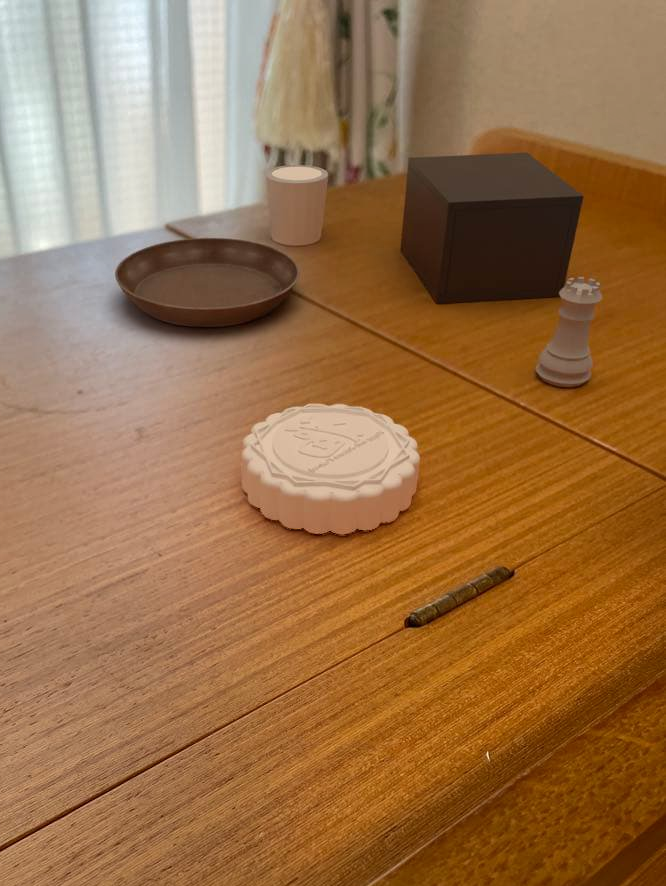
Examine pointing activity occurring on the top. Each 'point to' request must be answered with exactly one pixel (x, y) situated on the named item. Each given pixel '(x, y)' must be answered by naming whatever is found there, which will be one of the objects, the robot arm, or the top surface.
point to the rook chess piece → (571, 336)
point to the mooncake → (330, 468)
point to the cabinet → (488, 227)
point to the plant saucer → (207, 280)
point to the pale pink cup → (296, 203)
